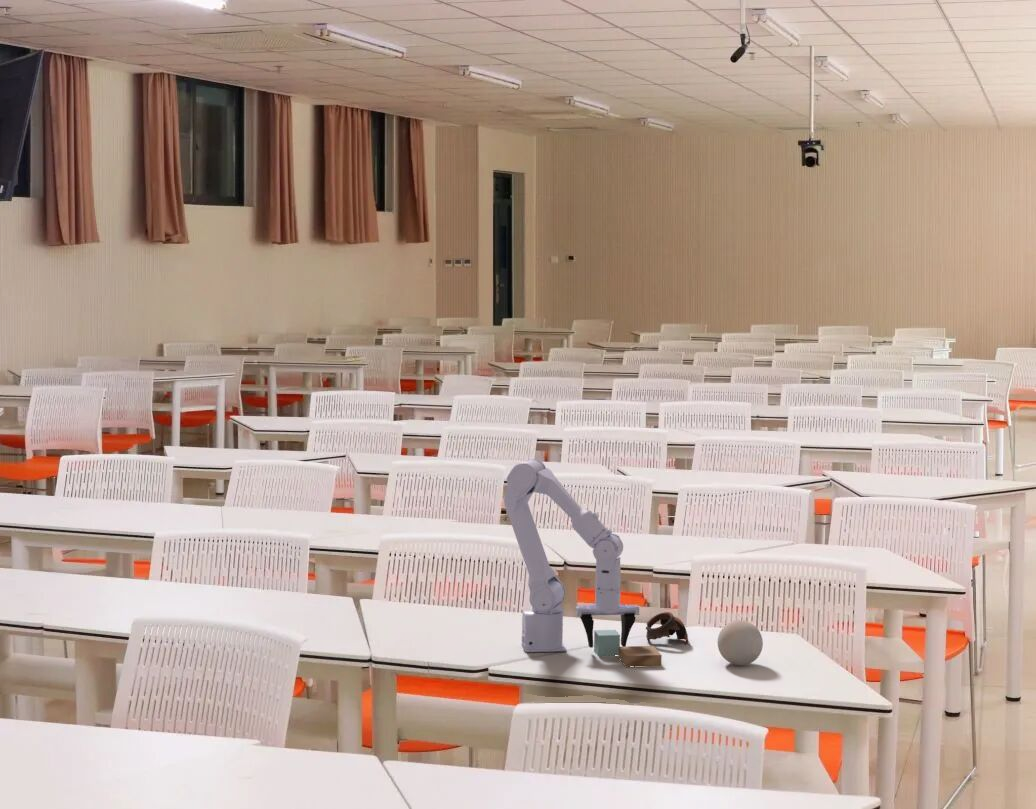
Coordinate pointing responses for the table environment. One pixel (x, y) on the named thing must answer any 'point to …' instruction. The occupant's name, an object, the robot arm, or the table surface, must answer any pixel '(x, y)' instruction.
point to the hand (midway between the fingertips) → (607, 646)
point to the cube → (606, 642)
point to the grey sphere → (740, 642)
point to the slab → (640, 656)
